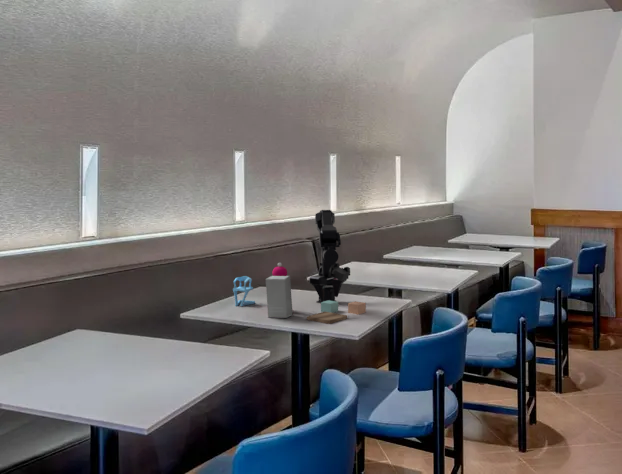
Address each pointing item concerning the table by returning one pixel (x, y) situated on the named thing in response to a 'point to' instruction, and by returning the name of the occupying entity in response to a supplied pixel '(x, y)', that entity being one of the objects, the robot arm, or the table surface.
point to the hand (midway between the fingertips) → (329, 298)
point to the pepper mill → (279, 270)
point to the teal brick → (329, 306)
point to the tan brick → (356, 307)
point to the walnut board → (327, 317)
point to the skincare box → (279, 296)
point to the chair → (243, 289)
